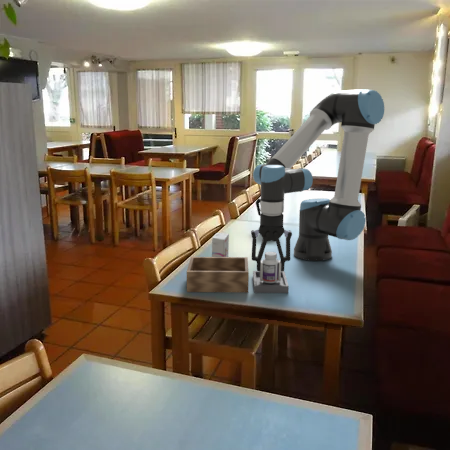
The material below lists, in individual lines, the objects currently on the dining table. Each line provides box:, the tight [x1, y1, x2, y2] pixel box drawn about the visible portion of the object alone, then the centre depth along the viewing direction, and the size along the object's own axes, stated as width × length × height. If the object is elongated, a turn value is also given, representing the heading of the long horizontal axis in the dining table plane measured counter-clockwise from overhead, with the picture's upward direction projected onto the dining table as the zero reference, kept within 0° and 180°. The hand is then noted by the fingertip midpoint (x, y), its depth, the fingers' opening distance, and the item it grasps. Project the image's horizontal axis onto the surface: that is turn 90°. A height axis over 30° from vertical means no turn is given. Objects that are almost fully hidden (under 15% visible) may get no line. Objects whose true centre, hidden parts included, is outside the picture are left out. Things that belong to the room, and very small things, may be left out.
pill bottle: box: [262, 251, 279, 283], centre depth 154 cm, size 5×5×10 cm
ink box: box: [211, 232, 230, 257], centre depth 173 cm, size 9×5×12 cm, turn 168°
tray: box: [252, 270, 290, 294], centre depth 156 cm, size 11×14×2 cm
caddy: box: [186, 256, 250, 294], centre depth 156 cm, size 20×15×7 cm
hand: (270, 279), depth 156 cm, fingers closed on pill bottle, 5 cm apart
